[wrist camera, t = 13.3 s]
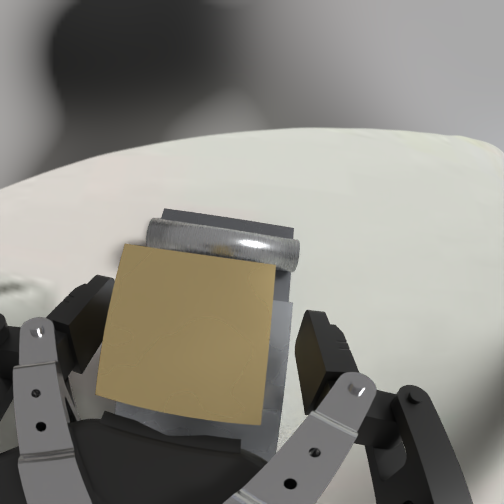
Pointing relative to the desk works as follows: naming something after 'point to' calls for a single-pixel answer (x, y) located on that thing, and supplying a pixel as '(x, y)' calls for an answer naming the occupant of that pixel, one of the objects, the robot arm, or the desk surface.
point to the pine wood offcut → (188, 335)
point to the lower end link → (229, 242)
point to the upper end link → (252, 436)
